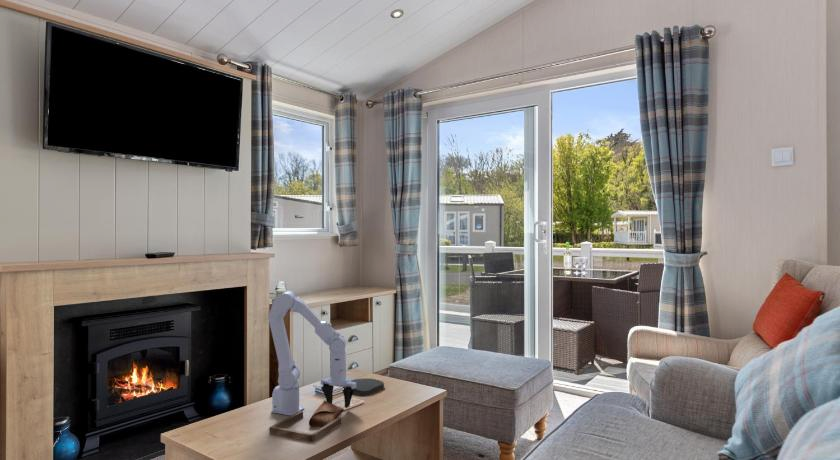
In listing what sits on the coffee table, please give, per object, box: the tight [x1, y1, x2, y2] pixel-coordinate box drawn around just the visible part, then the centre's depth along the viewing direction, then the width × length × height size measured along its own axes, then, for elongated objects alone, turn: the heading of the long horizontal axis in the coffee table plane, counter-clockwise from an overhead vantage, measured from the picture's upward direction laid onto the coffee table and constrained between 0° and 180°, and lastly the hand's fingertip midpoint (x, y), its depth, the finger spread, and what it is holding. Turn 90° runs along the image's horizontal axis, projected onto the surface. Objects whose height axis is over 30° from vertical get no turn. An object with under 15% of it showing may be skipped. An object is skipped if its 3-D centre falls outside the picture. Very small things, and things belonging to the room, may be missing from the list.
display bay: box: [269, 410, 342, 443], centre depth 170 cm, size 17×16×2 cm
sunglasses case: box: [308, 400, 344, 429], centre depth 179 cm, size 18×7×7 cm
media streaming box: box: [343, 377, 385, 397], centre depth 212 cm, size 15×15×3 cm
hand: (338, 405), depth 188 cm, fingers open, 7 cm apart
